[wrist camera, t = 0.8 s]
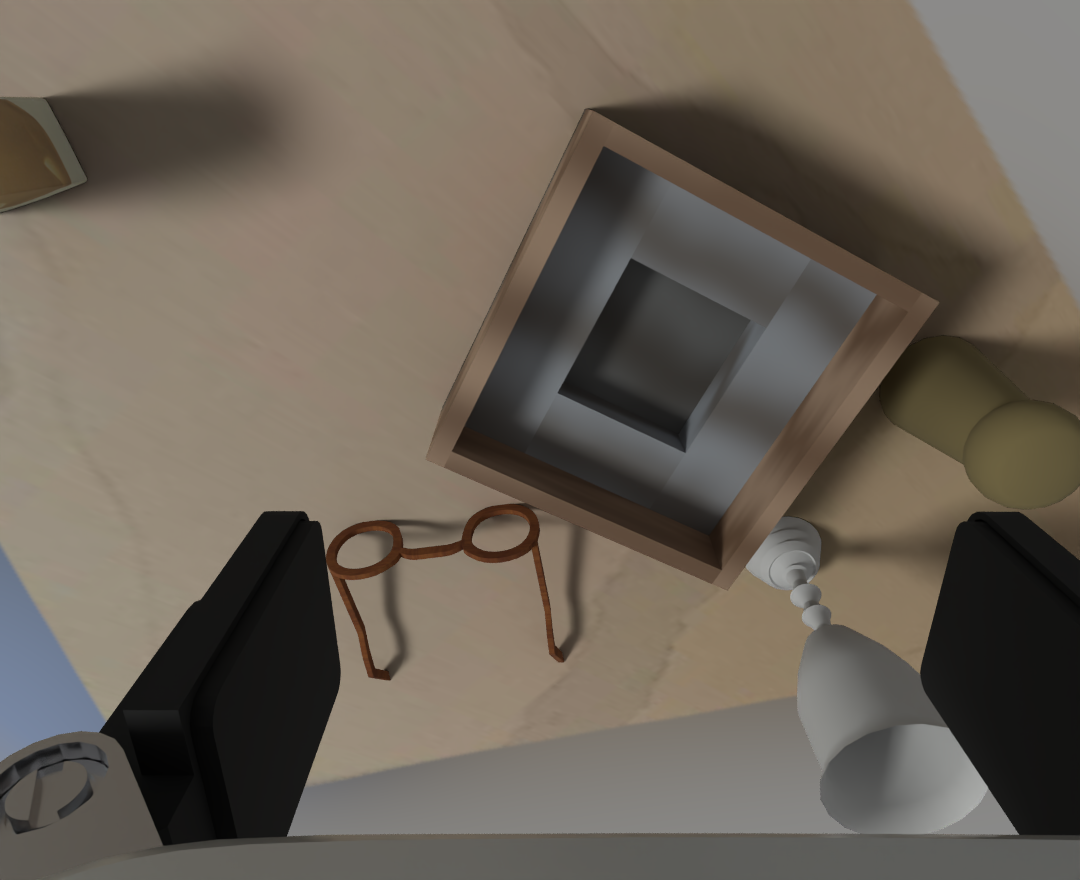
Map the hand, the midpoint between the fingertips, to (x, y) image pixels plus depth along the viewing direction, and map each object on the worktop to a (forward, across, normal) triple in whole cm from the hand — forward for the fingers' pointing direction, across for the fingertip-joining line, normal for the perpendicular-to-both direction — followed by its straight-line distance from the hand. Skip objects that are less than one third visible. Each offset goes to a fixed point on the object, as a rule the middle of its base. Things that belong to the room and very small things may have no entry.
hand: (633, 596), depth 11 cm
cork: (+32, -21, +8) cm, 39 cm away
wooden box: (+32, -5, +5) cm, 33 cm away
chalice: (+32, -14, +19) cm, 40 cm away
